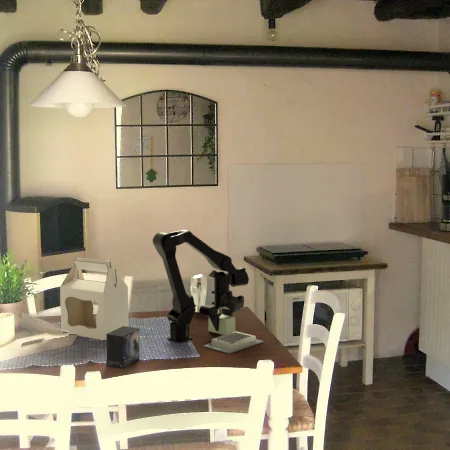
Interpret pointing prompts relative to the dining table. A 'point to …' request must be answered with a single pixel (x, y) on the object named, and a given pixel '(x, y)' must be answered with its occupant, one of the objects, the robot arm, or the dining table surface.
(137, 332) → the small box
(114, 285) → the gable box
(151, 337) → the dining table surface
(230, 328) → the green block
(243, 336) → the collar
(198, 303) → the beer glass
